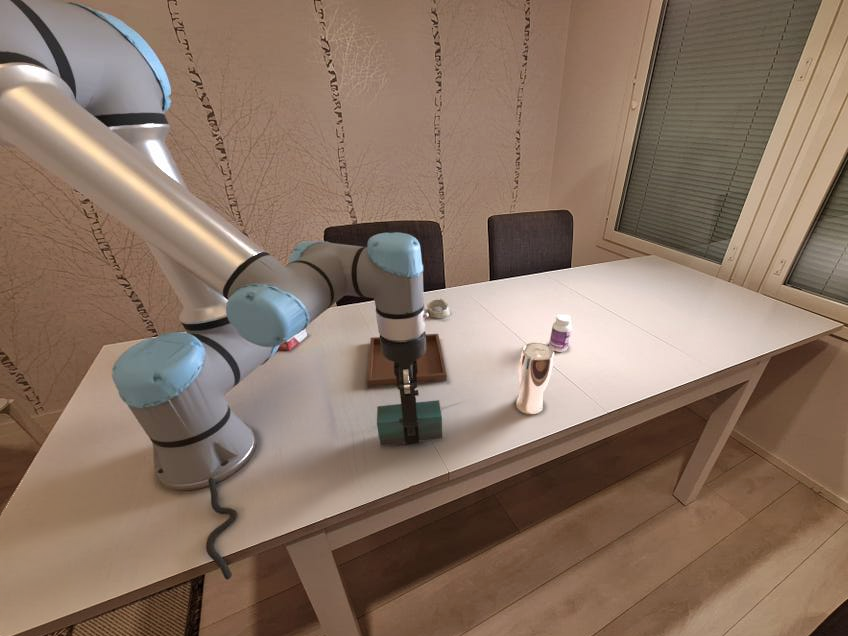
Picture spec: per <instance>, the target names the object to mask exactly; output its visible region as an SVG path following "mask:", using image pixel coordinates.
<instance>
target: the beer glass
mask: <svg viewBox="0 0 848 636" xmlns="http://www.w3.org/2000/svg"><path fill="white" fill-rule="evenodd" d="M520 354H521V355H520V358H519V363H518V383H519V393H518V397H517V399H516V402H515V405H516V408H517V410H519V411H520V412H522V413H523V414H527V415H536V414H539V413H541V411H542V410H543V409H544V401H543V399H544V393H545V391H546V388H547V386H548V384H549V381H550V379H551V375H552V371H553V365H554V356H555V351H554V350H553V349H552V348H551V347H549V345H548V344H544V343H541V342H529V343H527V344H525V345H523V347H522V349H521V353H520Z"/></svg>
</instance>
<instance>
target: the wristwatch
mask: <svg viewBox="0 0 848 636" xmlns="http://www.w3.org/2000/svg"><path fill="white" fill-rule="evenodd" d="M426 307H427V310H428V314H429V315H430V316H431V317H432V318H437V319H444V318H447V317H448V316H450V314H451V311H450V308H449V304H448V302H447V300H445V299H443V298H439V299H433V300H431V301H430V302H428V304H427V305H426ZM436 308H441V309H442V310H441V311H435V310H434V309H436Z"/></svg>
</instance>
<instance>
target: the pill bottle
mask: <svg viewBox="0 0 848 636" xmlns="http://www.w3.org/2000/svg"><path fill="white" fill-rule="evenodd" d="M571 322H572V317H571V316H570V315H567V314H557V316H556V318H555V322H553V324H552V326H551V332H550V337H549V343H548V346H549V347H551V348H552V349H553V351H554V352H557V353H558V352H559V353H562V352H566V351H567V350H568V348H569V344H570V339H571V335H572V334H571V333H572V329H573V327H572V324H571Z"/></svg>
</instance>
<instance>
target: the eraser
mask: <svg viewBox="0 0 848 636" xmlns="http://www.w3.org/2000/svg"><path fill="white" fill-rule="evenodd" d="M376 408H377V410H376V427H377V434H378V439H379V440H378V441H379V444H380V446H381V447H382V446H391V445H399V444H405V437H404V428H403V423H399V418H403V416H402V407H401V403H398V404H396V403H395V404H386V405H378V406H377V407H376ZM416 413H417V417H418V431H419V442H425V441H432V440H433V441H434V440H443V415H442V408H441V402H440V399H439V400H438V399H436V400H428V401H416Z"/></svg>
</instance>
